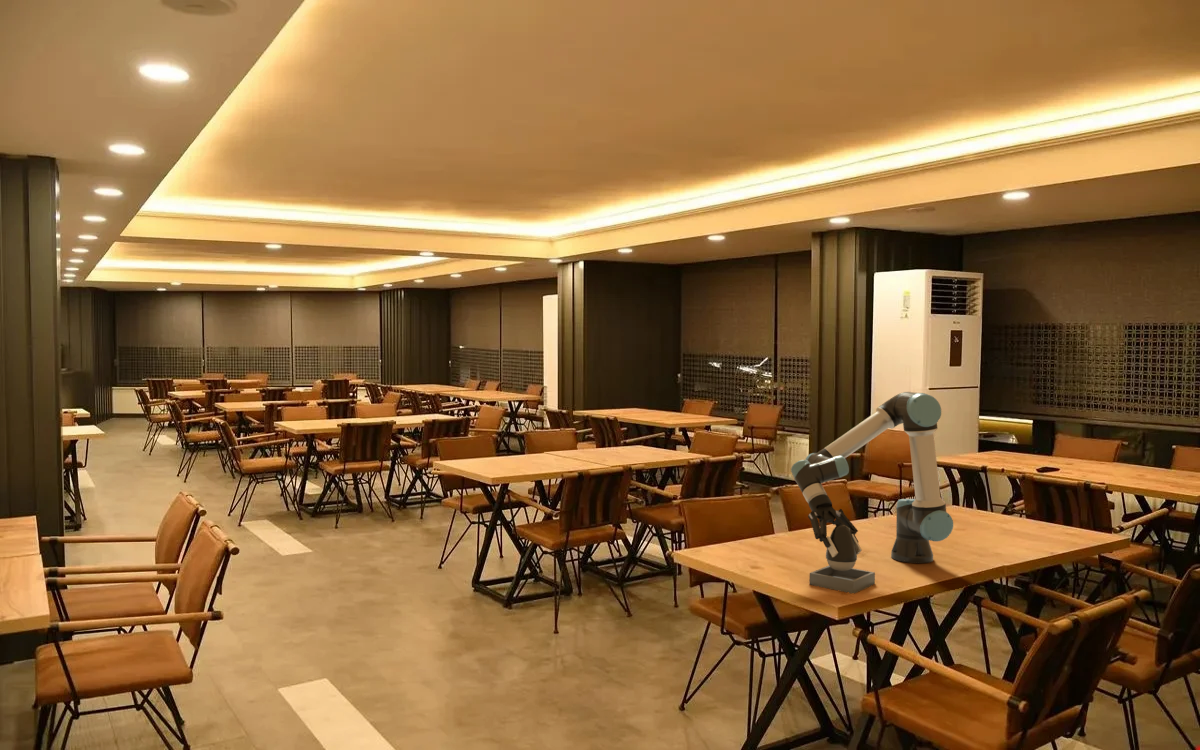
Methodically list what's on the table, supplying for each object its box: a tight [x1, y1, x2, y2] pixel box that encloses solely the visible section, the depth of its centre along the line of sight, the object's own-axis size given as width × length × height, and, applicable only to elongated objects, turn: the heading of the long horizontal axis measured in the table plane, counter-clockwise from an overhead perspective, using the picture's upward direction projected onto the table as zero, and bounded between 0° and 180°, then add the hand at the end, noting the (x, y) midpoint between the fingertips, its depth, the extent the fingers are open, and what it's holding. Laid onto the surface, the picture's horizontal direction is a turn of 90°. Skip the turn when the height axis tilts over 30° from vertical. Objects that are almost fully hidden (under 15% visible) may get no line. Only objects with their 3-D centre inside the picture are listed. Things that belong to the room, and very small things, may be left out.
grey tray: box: [808, 565, 876, 594], centre depth 290 cm, size 16×16×4 cm
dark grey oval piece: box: [825, 524, 858, 571], centre depth 289 cm, size 10×10×15 cm
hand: (847, 553), depth 287 cm, fingers closed on dark grey oval piece, 9 cm apart
